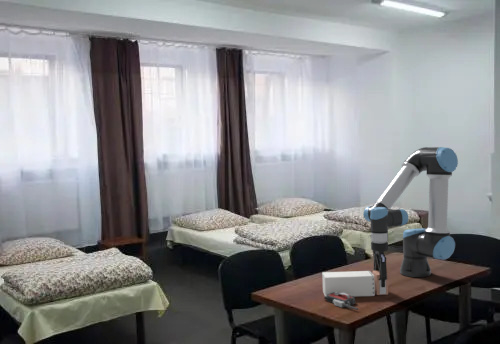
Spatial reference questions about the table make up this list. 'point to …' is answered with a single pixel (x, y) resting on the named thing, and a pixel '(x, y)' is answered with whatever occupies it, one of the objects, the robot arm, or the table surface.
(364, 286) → the block
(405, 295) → the table surface
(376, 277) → the peach rectangular block
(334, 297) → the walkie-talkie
